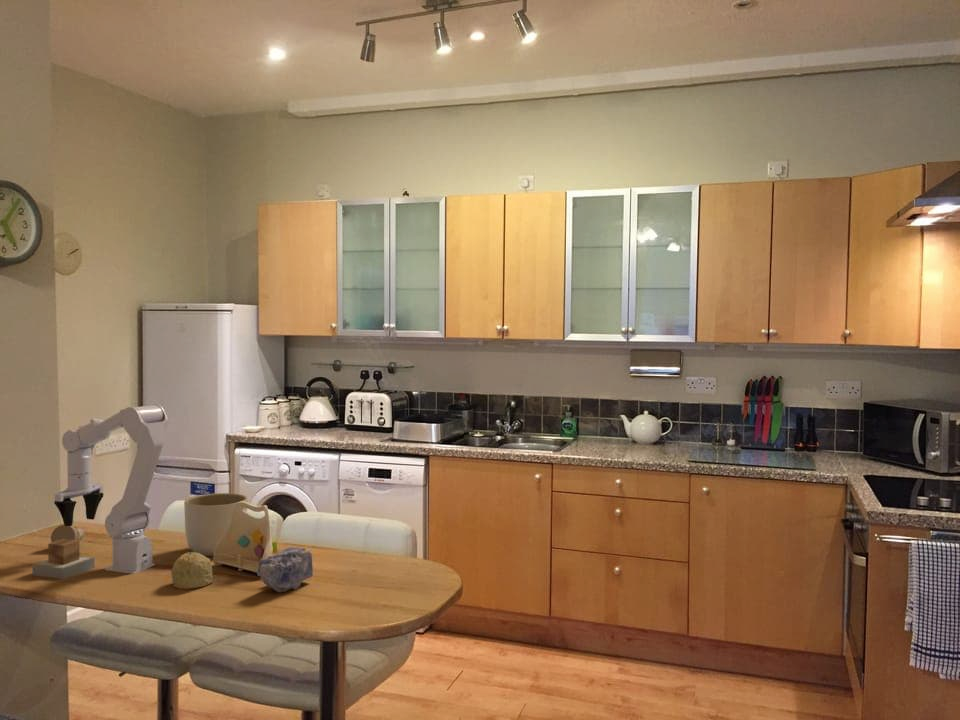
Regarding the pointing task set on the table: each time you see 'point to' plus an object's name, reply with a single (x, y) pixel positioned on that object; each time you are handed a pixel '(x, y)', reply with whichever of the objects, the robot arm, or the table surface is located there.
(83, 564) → the grey plinth
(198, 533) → the planter
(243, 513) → the shape sorter
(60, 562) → the walnut cube
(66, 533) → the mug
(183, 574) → the decorative object
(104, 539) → the table surface
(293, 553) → the mineral
